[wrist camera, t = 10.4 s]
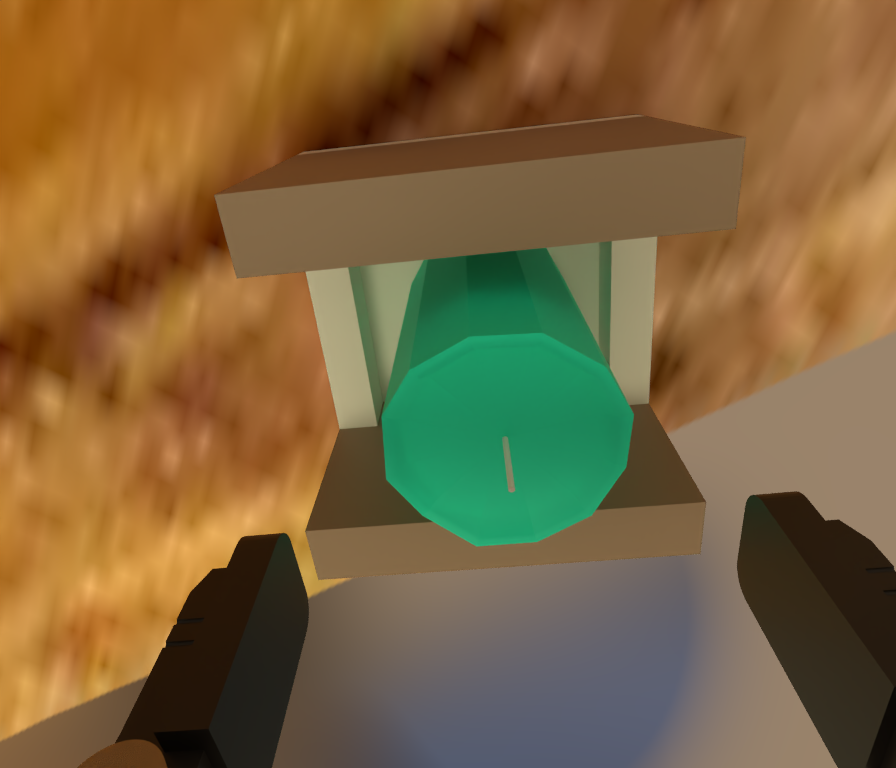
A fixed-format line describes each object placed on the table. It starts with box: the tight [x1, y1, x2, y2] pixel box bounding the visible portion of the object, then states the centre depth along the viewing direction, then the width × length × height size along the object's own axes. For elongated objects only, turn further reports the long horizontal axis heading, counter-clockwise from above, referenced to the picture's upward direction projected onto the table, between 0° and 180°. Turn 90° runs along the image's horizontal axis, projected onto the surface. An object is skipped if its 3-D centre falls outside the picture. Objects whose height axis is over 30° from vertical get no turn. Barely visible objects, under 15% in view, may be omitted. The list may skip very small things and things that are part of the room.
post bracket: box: [214, 114, 746, 580], centre depth 20 cm, size 12×12×9 cm
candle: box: [381, 248, 634, 547], centre depth 18 cm, size 6×6×12 cm
